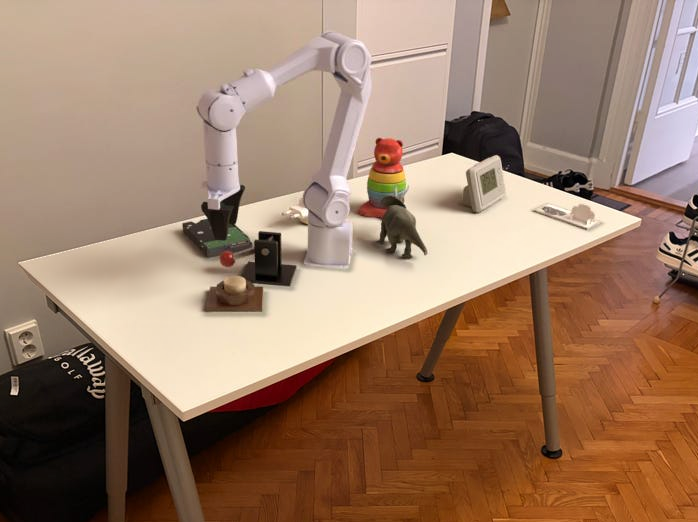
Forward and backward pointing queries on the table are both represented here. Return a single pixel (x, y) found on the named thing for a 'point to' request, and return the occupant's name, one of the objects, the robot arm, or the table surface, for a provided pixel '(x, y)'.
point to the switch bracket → (268, 262)
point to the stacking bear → (384, 176)
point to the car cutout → (571, 215)
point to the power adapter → (298, 212)
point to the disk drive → (208, 244)
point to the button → (234, 284)
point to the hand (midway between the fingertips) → (225, 231)
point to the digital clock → (484, 184)
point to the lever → (237, 255)
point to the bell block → (235, 299)
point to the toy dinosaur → (399, 225)
